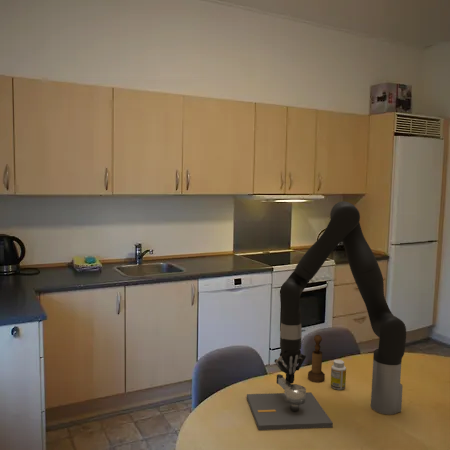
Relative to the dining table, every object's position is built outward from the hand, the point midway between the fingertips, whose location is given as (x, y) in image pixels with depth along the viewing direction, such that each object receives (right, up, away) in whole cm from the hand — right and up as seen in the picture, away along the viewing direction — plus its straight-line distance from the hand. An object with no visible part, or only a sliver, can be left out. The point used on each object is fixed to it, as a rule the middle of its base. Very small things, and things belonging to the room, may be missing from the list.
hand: (289, 382), depth 161 cm
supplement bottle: (+20, -7, +13) cm, 25 cm away
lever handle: (-1, -5, -5) cm, 7 cm away
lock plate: (-2, -7, -8) cm, 11 cm away
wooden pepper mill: (+14, -6, +20) cm, 25 cm away
